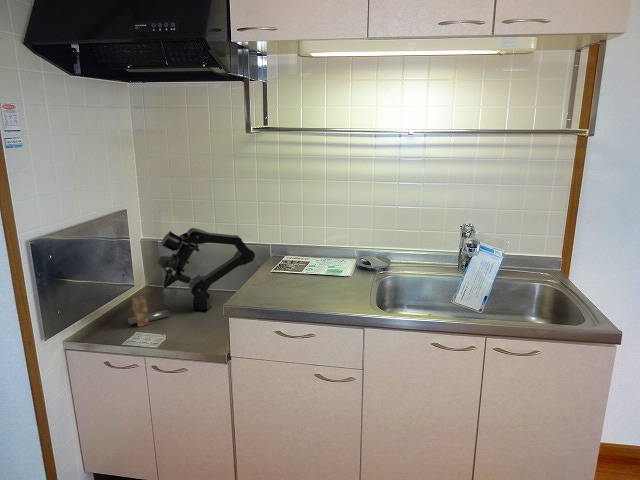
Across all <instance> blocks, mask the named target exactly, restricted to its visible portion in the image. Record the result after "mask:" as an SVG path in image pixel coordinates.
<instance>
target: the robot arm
mask: <svg viewBox="0 0 640 480" xmlns="http://www.w3.org/2000/svg"><path fill="white" fill-rule="evenodd" d="M209 243H210V244H211V243H212V244H222V245H233V246H234V247H235V248H236V249H237V251H236V252H235V253H234V255H233V256H232V258H230V259H228V260H227V261H225V262H224V263H222V264H221V265H219V266H218V267H217V268H215V269H213V270H212V271H210V272H209V273H208V274H205V275H203V276H201V275H200V274H198V275H196V276H195V277H194V278H192V277H191V276H190V275H189V274H187V273H185V269H184V268H185V266H186V265H189V264H190V261H189V260H190V258H191V256H192V255H193V253H194V251H196V252H198V253H199V252H200V249H199V245H202V244H209ZM160 246H162V247H164V248H165V249H168V250H170V251H173V252H175V251H177V252H176V253H173V254H172V255H171V256H168V255H165V256H163V255H162V256H159V259H158V261H157V262H158V263H157V264H158V265H160V266H161V268H163V270H164V273H165V275H164V279H163V280H164V282H163V285H162V287H163V288H165V289H166V288H168V287H169V286H171V285H172V284H174V283H176V282H177V281H179V282H182V283H186V284H188V290H189V291H190V293H191V294H192V296H193V299H192V305H193V306H192V307H193V309H192V312H197V313H204V314H205V313H207V312H208V311H209V310H211V308H212V307H213V306H212V305H211V298H210V296H211V294H210V292H209V291H208V289H210V287H211V286H212V285H213V284H214V283H216V282H217V281H219V280H220V279H221V278H223V277H224V276H226V275H228V274H229V273H231V272H232V271H234V270H235V269H236V268H238V267H241V266H245V265H247V264H250V263H252V262H253V261H254V260H255V256H256V254H255V252H254V251H253V250H252V249H251V248H250V247H248V246H247V245H246V244H245V242H244V241H243V240H242V238H241V237H240V236H239V235H237V234H224V233H216V232H215V233H214V232H208V231H205V230H203V229H200V228H196V227H190V228H189V229H188V230H187V231H186V232H183V233H181V234H180V235H178V234H175V233H174V232H173V231H168V233H166V235H164V236H163V238H162V240H161V244H160Z"/></svg>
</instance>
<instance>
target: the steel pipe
mask: <svg viewBox="0 0 640 480" xmlns="http://www.w3.org/2000/svg"><path fill="white" fill-rule="evenodd" d="M169 317H170V311H169V310H168V309H167V310H160V311H156V312H151V313H148V322H153V321H157V320H161V319H165V318H169ZM127 321H128V325H129V326H135V325H137V318H136V317H134V316H133V317H129V318H127Z"/></svg>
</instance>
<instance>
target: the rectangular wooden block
mask: <svg viewBox="0 0 640 480" xmlns="http://www.w3.org/2000/svg"><path fill="white" fill-rule="evenodd" d="M131 300H132V308H133V317H136V318H137V324H136V325H137V327H143V326H147V325H149V321H148V314H149V313H148V305H147V301H146V299H145V298H144V296H143V295H139V296H134V297H131Z"/></svg>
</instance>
